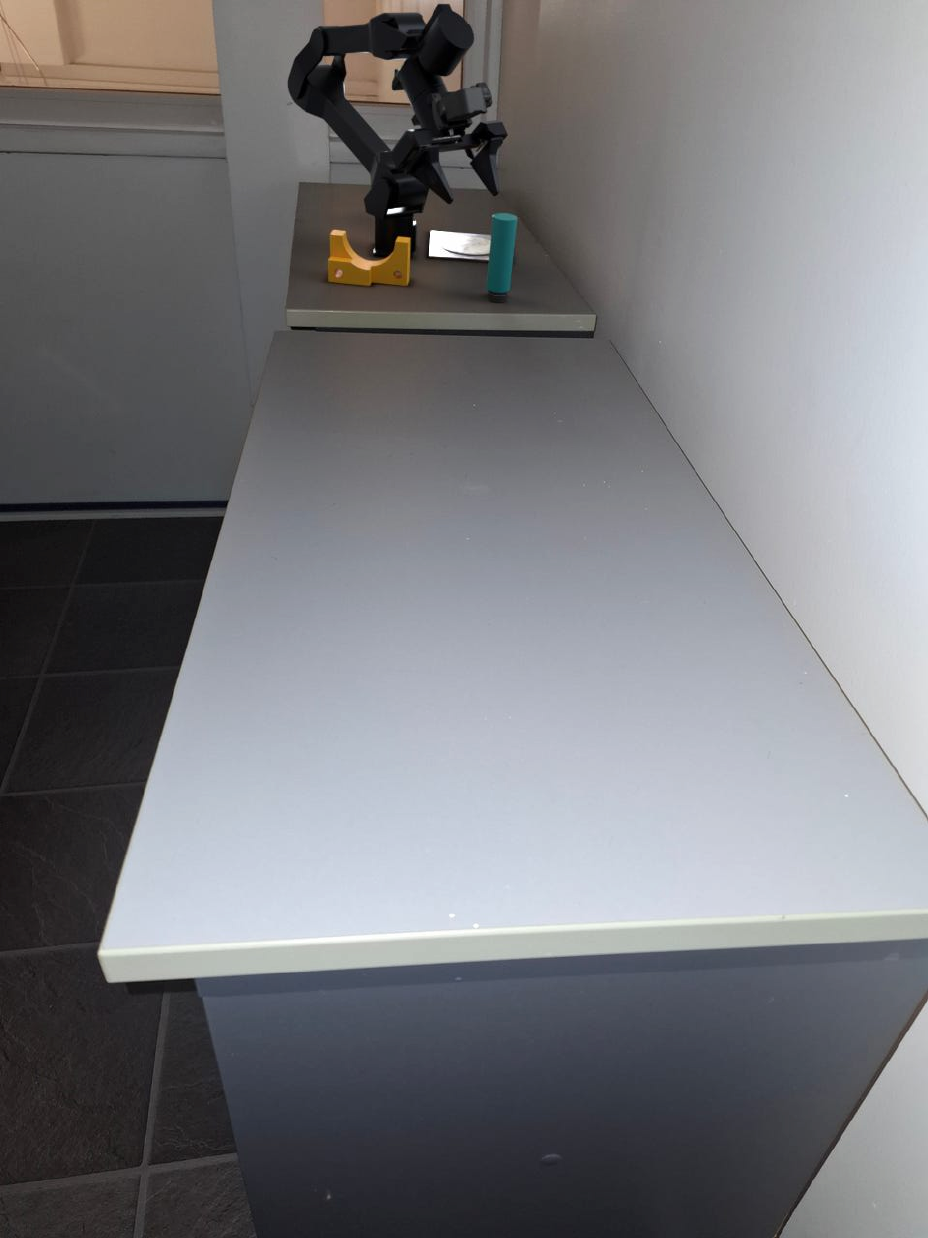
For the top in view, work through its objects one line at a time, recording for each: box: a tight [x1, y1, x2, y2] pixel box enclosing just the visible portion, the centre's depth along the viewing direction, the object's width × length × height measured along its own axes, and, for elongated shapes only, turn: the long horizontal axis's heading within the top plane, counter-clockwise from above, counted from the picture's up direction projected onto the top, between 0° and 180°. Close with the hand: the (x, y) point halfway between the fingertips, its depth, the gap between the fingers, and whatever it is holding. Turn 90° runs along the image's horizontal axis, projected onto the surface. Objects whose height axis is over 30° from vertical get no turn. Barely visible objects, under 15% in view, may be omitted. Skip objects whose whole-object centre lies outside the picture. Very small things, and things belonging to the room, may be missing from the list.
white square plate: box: [428, 230, 491, 263], centre depth 150 cm, size 14×14×1 cm
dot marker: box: [486, 212, 518, 304], centre depth 128 cm, size 4×4×12 cm
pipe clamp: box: [327, 229, 411, 287], centre depth 132 cm, size 12×4×6 cm, turn 84°
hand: (474, 198), depth 127 cm, fingers open, 9 cm apart
